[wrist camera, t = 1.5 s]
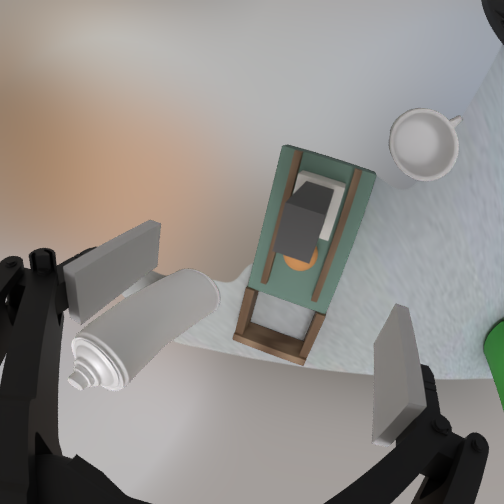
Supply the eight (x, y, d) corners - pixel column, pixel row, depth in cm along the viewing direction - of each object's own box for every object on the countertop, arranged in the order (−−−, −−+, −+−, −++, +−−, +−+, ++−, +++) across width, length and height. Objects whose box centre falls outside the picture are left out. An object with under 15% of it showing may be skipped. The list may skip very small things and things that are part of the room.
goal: (328, 302, 42) (324, 318, 39) (308, 349, 46) (303, 366, 43) (253, 276, 45) (244, 289, 41) (241, 324, 49) (232, 339, 45)
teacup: (407, 186, 33) (416, 195, 29) (372, 133, 32) (375, 133, 28) (468, 145, 29) (485, 148, 24) (434, 90, 28) (446, 84, 23)
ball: (324, 237, 36) (320, 250, 33) (314, 266, 38) (309, 281, 34) (292, 227, 37) (284, 238, 33) (283, 256, 39) (275, 269, 35)
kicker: (345, 183, 33) (340, 213, 21) (330, 232, 35) (315, 284, 24) (303, 169, 34) (273, 191, 22) (289, 218, 36) (256, 263, 25)
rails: (362, 170, 32) (362, 171, 31) (317, 298, 39) (316, 302, 38) (296, 149, 33) (294, 150, 32) (262, 278, 41) (260, 282, 40)
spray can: (181, 326, 53) (94, 425, 31) (146, 277, 52) (40, 361, 30) (230, 304, 48) (139, 425, 26) (190, 247, 46) (69, 344, 24)
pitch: (374, 171, 34) (376, 175, 31) (327, 302, 42) (325, 314, 40) (287, 144, 36) (282, 145, 34) (254, 276, 45) (247, 286, 42)
